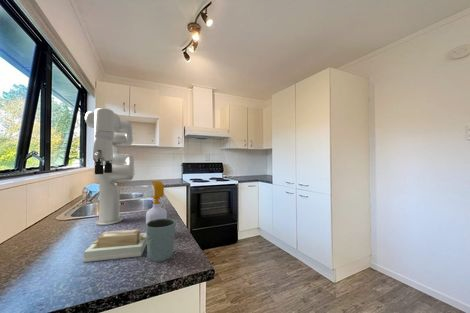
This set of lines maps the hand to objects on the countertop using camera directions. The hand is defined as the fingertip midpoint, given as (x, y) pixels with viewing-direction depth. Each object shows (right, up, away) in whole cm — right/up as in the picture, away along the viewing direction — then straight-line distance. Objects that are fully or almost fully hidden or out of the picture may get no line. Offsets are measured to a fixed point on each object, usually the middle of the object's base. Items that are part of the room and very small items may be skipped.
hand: (103, 173), depth 90 cm
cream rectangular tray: (+16, -28, -14) cm, 35 cm away
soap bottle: (+24, -29, +1) cm, 37 cm away
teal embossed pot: (+33, -28, -19) cm, 48 cm away
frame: (+16, -27, -14) cm, 34 cm away
